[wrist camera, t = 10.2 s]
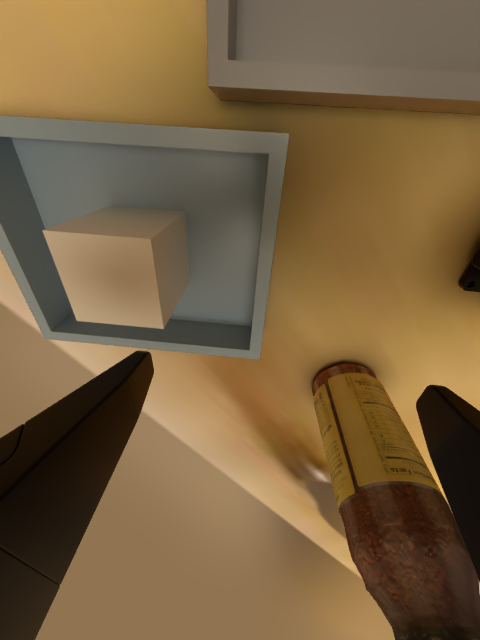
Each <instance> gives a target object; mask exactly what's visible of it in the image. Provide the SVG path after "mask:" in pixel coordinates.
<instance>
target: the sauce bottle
mask: <svg viewBox="0 0 480 640" xmlns="http://www.w3.org/2000/svg"><path fill="white" fill-rule="evenodd" d="M312 392H313V396H314V406H315V410H316V415H317V419H318V423H319V428H320V432H321V437H322V441H323V445H324V449H325V453H326V458H327V462H328V466H329V471H330V475H331V479H332V484H333V488H334V493H335V497H336V502H337V506H338V510H339V513H340V515H341V516H342V520H343V523H344V527H345V531H346V537H347V542H348V545H349V551H350V553H351V557H352V560H353V562H354V563H355V565H356V567H357V569H358V571H359V573H360V574H361V576H362V578H363V581H364V583H365V587H366V589H367V591H368V592H369V593H370V594H371V596H372V597H373V599H374V600H375V601H376V602H377V604H378V606H379V607H380V608H381V610H382V612H383V613H384V615H385V617H386V618H387V620H388V621H389V623H390V625H391V626H392V629H393V632H394V637H395V640H480V593H479V580H478V576H477V574H476V571H475V569H474V566H473V564H472V561H471V559H470V556H469V554H468V551H467V549H466V546H465V543H464V541H463V538H462V536H461V533H460V531H459V528H458V526H457V523H456V521H455V518H454V516H453V514H452V512H451V510H450V507H449V505H448V504H447V502H446V500H445V498H444V496H443V495H442V493H441V491H440V489H439V487H438V485H437V483H436V482H435V480H434V478H433V476H432V474H431V473H430V471H429V469H428V467H427V465H426V463H425V462H424V460H423V458H422V456H421V454H420V452H419V450H418V448H417V447H416V445H415V443H414V441H413V439H412V437H411V435H410V434H409V432H408V430H407V428H406V427H405V425H404V423H403V421H402V420H401V418H400V416H399V414H398V412H397V411H396V409H395V407H394V405H393V404H392V402H391V400H390V398H389V396H388V394H387V392H386V391H385V389H384V387H383V385H382V384H381V383H380V382H379V381H378V380H377V378H376V376H375V375H374V373H373V372H372V371H371V370H369V369H367V368H365V367H363V366H360V365H356V364H349V363H343V364H339V365H336V366H333V367H331V368H328V369H326V370H324V371H322V372H321V373H320V374H319V375H318V376H317V377H316V379H315V381H314V384H313V388H312Z"/></svg>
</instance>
